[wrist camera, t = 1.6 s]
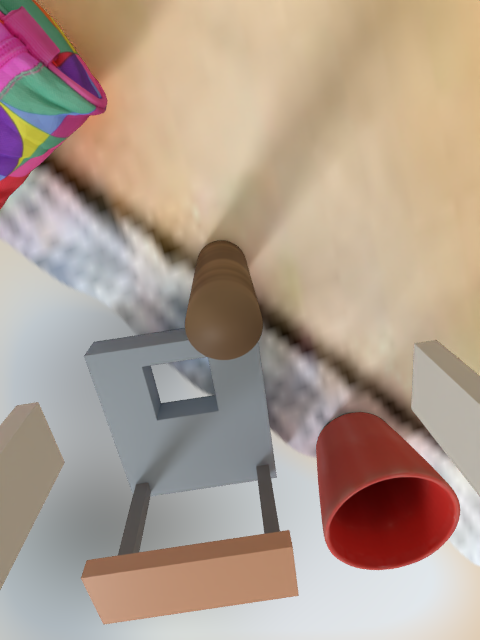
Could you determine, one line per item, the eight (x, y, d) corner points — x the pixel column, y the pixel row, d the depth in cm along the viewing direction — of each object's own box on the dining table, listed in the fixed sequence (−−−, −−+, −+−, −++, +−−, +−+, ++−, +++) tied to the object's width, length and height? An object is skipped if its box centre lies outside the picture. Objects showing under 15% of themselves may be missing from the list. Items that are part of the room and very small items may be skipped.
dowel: (192, 244, 29) (177, 295, 18) (242, 236, 29) (257, 283, 18) (201, 292, 31) (193, 365, 20) (249, 284, 31) (266, 354, 20)
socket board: (93, 342, 32) (18, 451, 20) (253, 317, 32) (275, 413, 20) (139, 478, 39) (103, 624, 26) (273, 458, 39) (298, 595, 26)
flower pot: (279, 437, 38) (298, 524, 29) (373, 378, 35) (425, 452, 26) (333, 496, 41) (365, 588, 32) (422, 445, 39) (482, 530, 30)
